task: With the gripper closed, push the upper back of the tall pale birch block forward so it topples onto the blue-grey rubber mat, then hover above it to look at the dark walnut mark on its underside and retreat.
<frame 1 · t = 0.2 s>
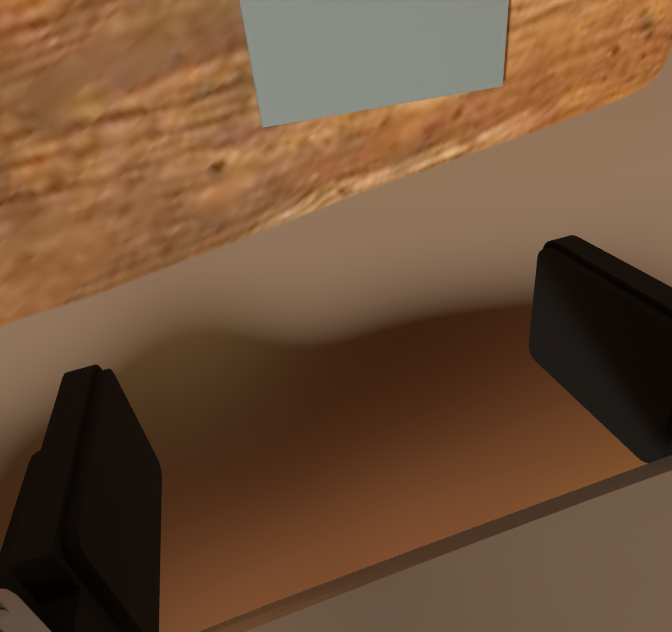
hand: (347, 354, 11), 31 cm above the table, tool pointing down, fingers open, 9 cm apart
grey mat: (381, 8, 35), on the table
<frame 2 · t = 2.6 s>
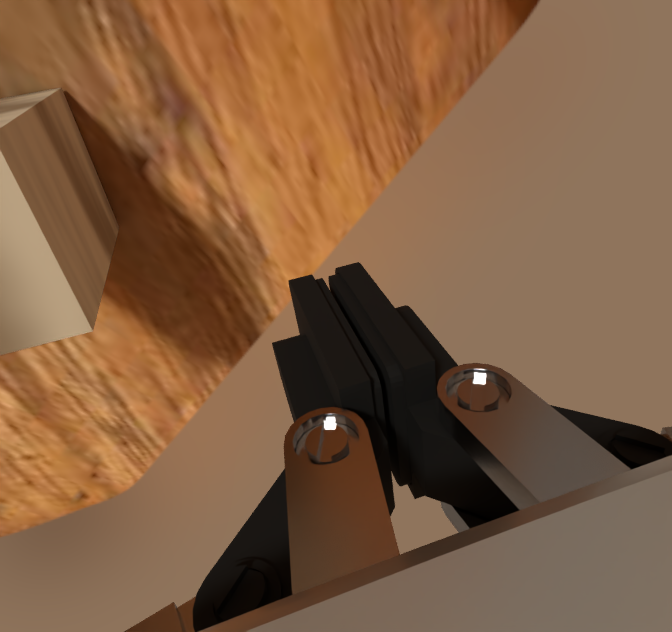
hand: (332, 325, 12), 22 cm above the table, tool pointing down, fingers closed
birch block: (47, 171, 28), on the table
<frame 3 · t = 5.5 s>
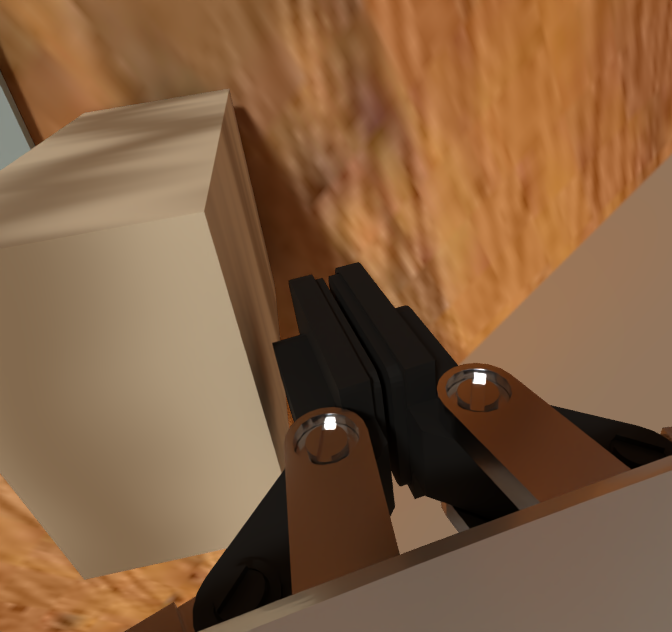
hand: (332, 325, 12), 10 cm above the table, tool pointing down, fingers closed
birch block: (191, 208, 19), on the table, tilted 7°, touching gripper
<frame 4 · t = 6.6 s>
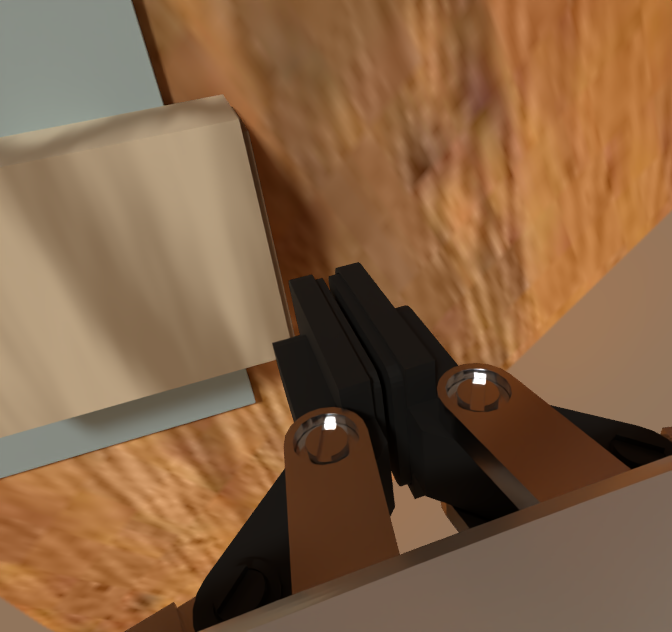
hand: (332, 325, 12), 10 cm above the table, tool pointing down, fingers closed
birch block: (264, 224, 17), point 3 cm above the table, tilted 90°, touching grey mat
grey mat: (24, 249, 18), on the table
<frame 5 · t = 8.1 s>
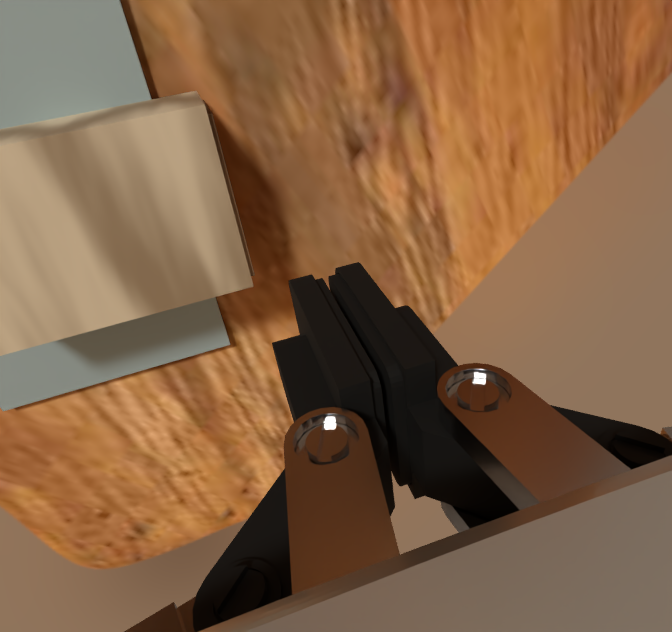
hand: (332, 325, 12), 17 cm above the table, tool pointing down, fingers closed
birch block: (229, 188, 23), point 3 cm above the table, tilted 90°, touching grey mat
grey mat: (44, 212, 24), on the table
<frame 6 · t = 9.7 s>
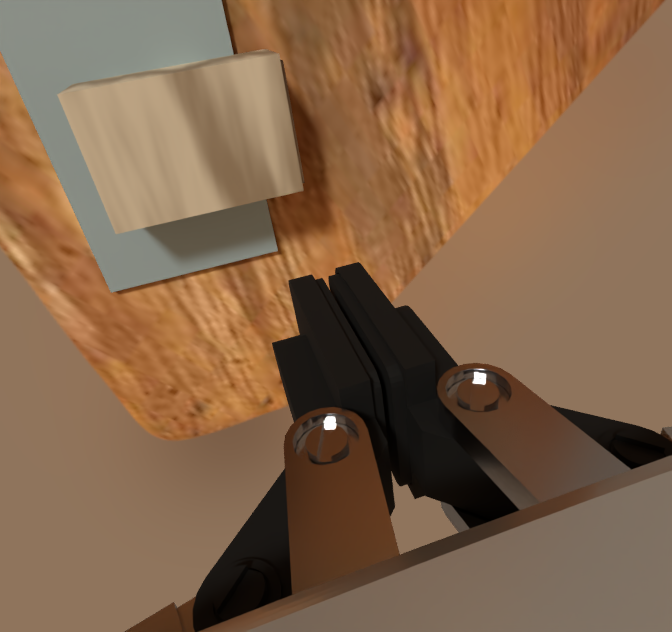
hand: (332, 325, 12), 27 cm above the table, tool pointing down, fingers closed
birch block: (287, 119, 32), point 3 cm above the table, tilted 90°, touching grey mat
grey mat: (152, 137, 33), on the table
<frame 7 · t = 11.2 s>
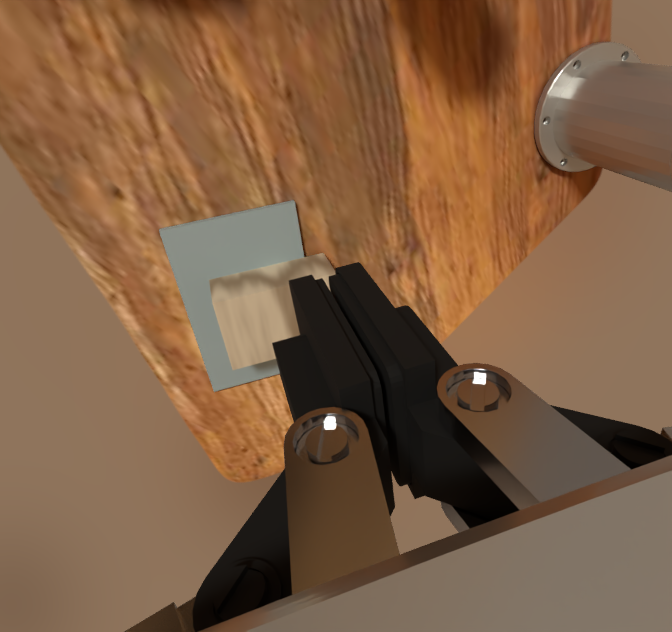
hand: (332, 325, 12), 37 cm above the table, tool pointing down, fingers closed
birch block: (336, 296, 51), point 3 cm above the table, tilted 90°, touching grey mat
grey mat: (250, 302, 52), on the table
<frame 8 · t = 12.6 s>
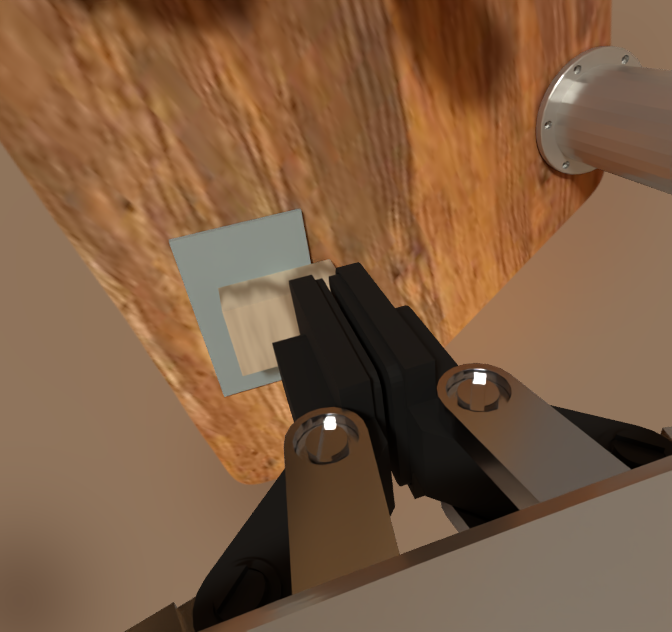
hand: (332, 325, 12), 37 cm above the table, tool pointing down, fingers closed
birch block: (342, 301, 52), point 3 cm above the table, tilted 90°, touching grey mat
grey mat: (258, 308, 53), on the table
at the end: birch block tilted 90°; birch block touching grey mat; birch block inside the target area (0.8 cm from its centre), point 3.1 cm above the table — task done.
